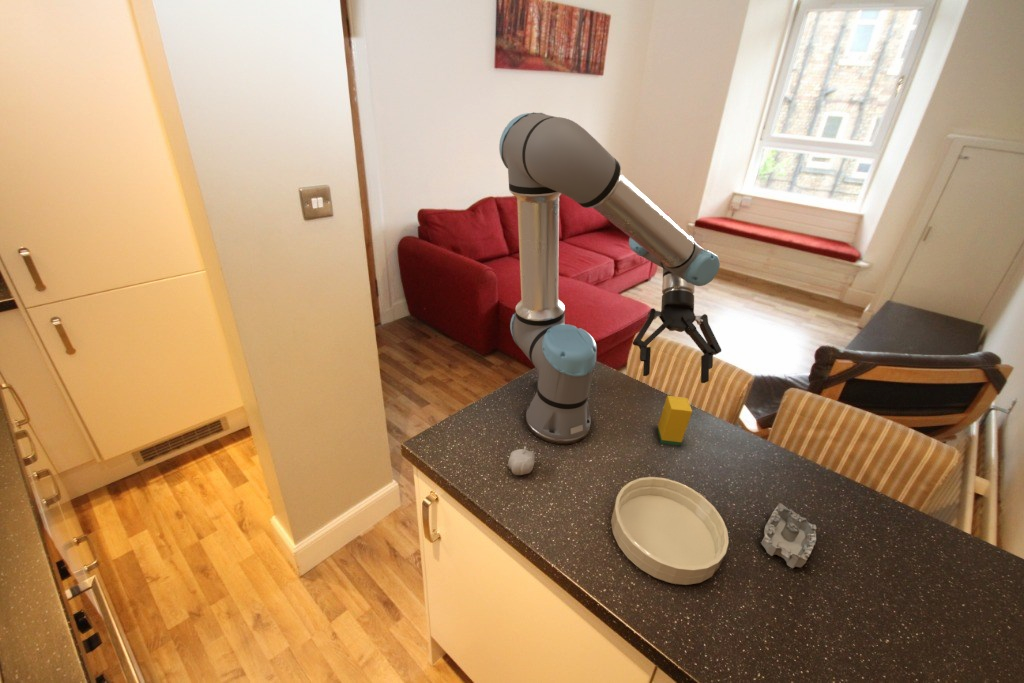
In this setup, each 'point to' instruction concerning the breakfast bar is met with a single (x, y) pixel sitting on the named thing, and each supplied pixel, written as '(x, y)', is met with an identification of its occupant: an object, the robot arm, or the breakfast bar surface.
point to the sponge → (674, 420)
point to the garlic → (521, 461)
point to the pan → (669, 530)
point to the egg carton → (789, 536)
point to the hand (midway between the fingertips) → (675, 378)
